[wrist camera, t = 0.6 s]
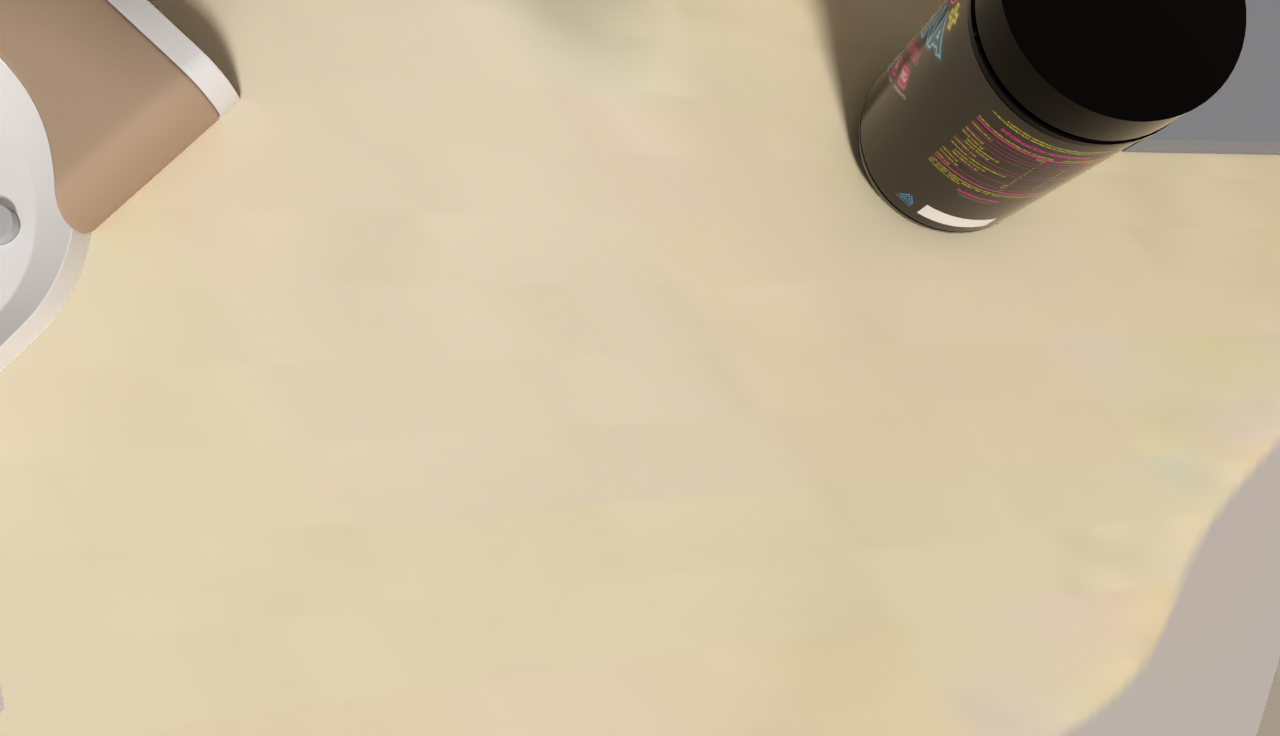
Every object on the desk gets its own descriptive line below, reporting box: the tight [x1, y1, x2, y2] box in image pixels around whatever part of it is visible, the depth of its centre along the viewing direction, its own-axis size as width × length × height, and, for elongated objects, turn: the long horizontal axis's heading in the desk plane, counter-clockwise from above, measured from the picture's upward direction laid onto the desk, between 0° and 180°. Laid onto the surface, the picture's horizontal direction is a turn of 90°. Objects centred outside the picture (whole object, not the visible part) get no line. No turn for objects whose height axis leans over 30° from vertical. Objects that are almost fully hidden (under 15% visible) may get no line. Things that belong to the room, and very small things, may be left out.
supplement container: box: [858, 0, 1246, 233], centre depth 29 cm, size 7×7×10 cm
